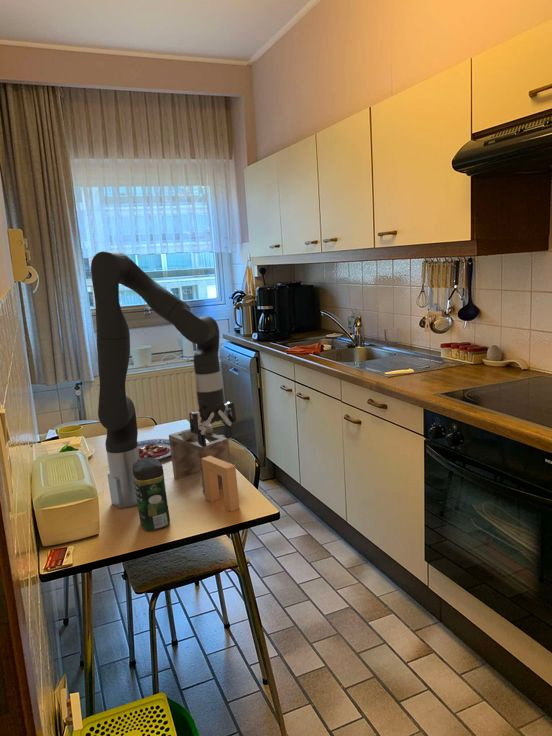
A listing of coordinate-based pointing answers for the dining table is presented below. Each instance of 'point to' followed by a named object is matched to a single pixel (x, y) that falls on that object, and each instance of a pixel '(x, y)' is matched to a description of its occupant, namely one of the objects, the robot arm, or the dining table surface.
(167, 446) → the ceramic plate
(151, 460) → the coffee jar
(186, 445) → the shelf stand
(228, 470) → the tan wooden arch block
